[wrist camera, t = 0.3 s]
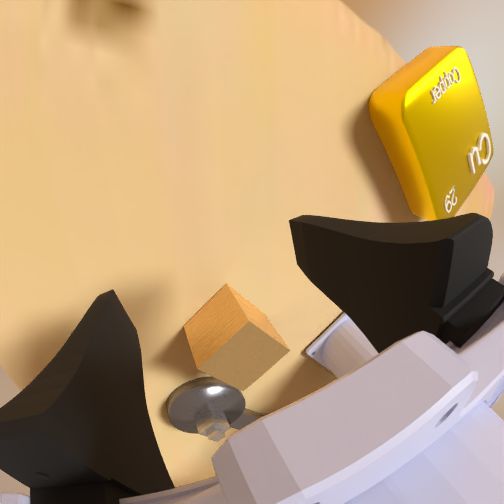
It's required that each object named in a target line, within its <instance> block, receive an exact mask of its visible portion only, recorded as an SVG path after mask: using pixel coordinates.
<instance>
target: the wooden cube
mask: <svg viewBox="0 0 504 504" xmlns="http://www.w3.org/2000/svg"><path fill="white" fill-rule="evenodd" d="M184 329H185V332H186V336H187V339H188V342H189V345H190V349H191V352H192V355H193V358H194V361H195V364H196V367H197V369H198V370H200V371H202V372H204V373H206V374H208V375H210V376H212V377H214V378H216V379H218V380H221V381H223V382H225V383H227V384H229V385H231V386H233V387H236V388H238V389H240V390H242V391H244V390H245V389H246V388H248V387H249V386H250V385H251V384H252V383H254V382H255V381H256V380H257V379H258V378H259V377H261V376H262V375H263V374H264V373H265V372H266V371H268V370H269V369H270V368H271V367H272V366H273V365H274V364H276V363H277V362H278V361H279V360H280V359H281V358H282V357H283V356H284V355H286V354H287V353H288V352H289V351H290V349H289V348H288V346H287V345H286V344H285V342H284V341H283V339H282V338H281V337H280V335H279V334H278V332H277V331H276V330H275V328H274V327H273V325H272V324H271V323H270V321H269V320H268V318H267V317H266V316H265V314H264V313H262V312H261V311H260V310H259V309H257V308H256V307H255V306H254V305H252V304H251V303H250V302H249V301H247V300H246V299H245V298H244V297H242V296H241V295H240V294H239V293H237V292H236V291H235V290H234V289H233V288H231V287H230V286H229V285H228V284H226V285H225V286H224V287H223V288H222V289H221V290H220V291H219V292H218V293H217V294H216V295H215V296H213V297H212V298H211V299H210V300H209V301H208V302H207V303H206V304H205V305H204V306H203V307H202V308H201V309H200V310H199V311H198V312H197V313H196V314H195V315H194V316H193V317H192V318H191V319H190V320H189V321H188V322H187V323H186V324H185V325H184Z"/></svg>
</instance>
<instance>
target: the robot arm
mask: <svg viewBox="0 0 504 504" xmlns="http://www.w3.org/2000/svg"><path fill="white" fill-rule="evenodd" d="M289 223H290V228H291V234H292V239H293V244H294V250H295V255H296V261H297V265H298V266H299V267H300V269H301V270H302V271H303V272H304V274H305V275H306V276H307V277H308V279H309V280H310V281H311V282H312V283H313V284H314V285H315V286H316V287H317V288H319V289H320V290H321V291H322V292H323V293H324V294H325V295H326V296H327V297H328V298H329V299H330V300H332V301H333V302H334V303H335V304H336V305H337V306H338V307H339V308H340V309H341V310H342V311H344V313H343V314H342V315H341V316H340V317H339V318H338V319H337V320H336V321H335V322H334V323H333V324H332V325H331V326H330V327H329V328H328V329H327V330H326V331H325V332H324V333H323V334H322V335H321V336H320V337H319V338H318V339H317V340H315V341H314V342H313V343H312V344H311V345H310V346H309V347H308V348H307V349H306V353H307V355H309V356H310V357H311V358H313V359H314V360H315V361H317V362H318V363H320V364H321V365H322V366H324V367H325V368H327V369H328V370H330V371H331V372H332V373H333V374H334V375H335V376H336V377H337V380H335V381H333V382H331V383H329V384H328V385H326V386H324V387H322V388H320V389H318V390H317V391H315V392H313V393H311V394H309V395H307V396H305V397H303V398H301V399H299V400H297V401H295V402H293V403H291V404H289V405H287V406H285V407H283V408H281V409H279V410H276V411H274V412H272V413H270V414H268V415H265V416H263V417H261V418H259V419H258V420H256V421H254V422H252V423H251V424H249V425H247V426H246V427H244V428H242V429H240V430H238V431H237V432H235V433H233V434H231V435H230V436H229V438H228V439H227V440H226V441H225V442H224V443H223V445H222V446H221V447H220V448H219V449H218V450H217V451H216V453H215V454H214V455H213V457H212V462H213V467H214V471H215V473H216V476H215V477H212V478H209V479H206V480H203V481H199V482H196V483H192V484H189V485H185V486H181V487H178V488H175V487H174V485H173V482H172V480H171V478H170V476H169V474H168V471H167V469H166V466H165V464H164V461H163V458H162V456H161V453H160V450H159V447H158V444H157V441H156V438H155V435H154V432H153V428H152V425H151V421H150V417H149V414H148V410H147V404H146V399H145V390H144V380H143V368H142V357H141V349H140V344H139V339H138V335H137V330H136V328H135V327H134V325H133V323H132V322H131V320H130V318H129V316H128V315H127V313H126V311H125V310H124V308H123V306H122V304H121V303H120V301H119V299H118V297H117V295H116V294H115V292H114V290H110V291H108V292H106V293H103V294H101V295H99V296H98V297H97V298H96V299H95V301H94V302H93V303H92V305H91V306H90V308H89V309H88V311H87V312H86V314H85V315H84V317H83V318H82V320H81V321H80V323H79V324H78V326H77V327H76V329H75V330H74V331H73V333H72V334H71V336H70V337H69V338H68V340H67V341H66V343H65V344H64V346H63V347H62V348H61V350H60V351H59V352H58V353H57V355H56V356H55V357H54V358H53V359H52V361H51V362H50V363H49V364H48V365H47V366H46V367H45V368H44V370H43V371H42V372H41V373H40V374H39V375H38V376H37V377H36V378H35V379H34V380H33V381H32V382H31V383H30V384H29V385H28V386H27V387H26V388H25V389H24V390H22V391H21V392H20V393H19V394H18V395H17V396H16V397H14V398H13V399H12V400H11V401H9V402H8V403H7V404H5V405H4V406H3V407H1V408H0V469H1V470H2V471H4V472H5V473H7V474H9V475H10V476H11V477H13V478H14V479H16V480H18V481H19V482H21V483H22V484H24V485H26V486H28V487H29V488H30V496H28V495H25V494H21V493H5V492H3V493H1V504H504V421H503V420H502V419H501V418H500V417H499V416H498V415H497V414H496V413H495V412H494V411H493V410H492V409H491V408H492V406H493V405H494V404H495V403H496V402H497V400H498V399H499V397H500V396H501V395H502V394H503V392H504V273H503V274H502V276H501V277H500V279H499V282H497V281H496V280H494V279H492V278H493V276H494V272H493V271H491V270H490V269H488V268H487V266H488V261H489V256H490V251H491V246H492V238H493V233H492V232H493V230H492V226H491V222H490V221H489V219H488V218H486V217H484V216H482V215H479V214H477V213H469V214H465V215H460V216H456V217H451V218H446V219H439V220H433V221H424V222H409V223H376V222H364V221H354V220H345V219H338V218H330V217H323V216H313V215H302V216H299V217H297V218H294V219H291V220H289Z"/></svg>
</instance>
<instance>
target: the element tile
mask: <svg viewBox="0 0 504 504" xmlns="http://www.w3.org/2000/svg"><path fill="white" fill-rule="evenodd" d="M368 109H369V114H370V118H371V121H372V123H373V125H374V127H375V129H376V131H377V133H378V135H379V137H380V139H381V141H382V143H383V146H384V148H385V150H386V152H387V154H388V156H389V159H390V161H391V163H392V165H393V168H394V170H395V172H396V175H397V177H398V180H399V182H400V185H401V187H402V190H403V192H404V195H405V197H406V200H407V203H408V205H409V208H410V210H411V212H412V213H413V214H414V215H416V216H418V217H420V218H422V219H425V220H427V221H433V220H439V219H446V218H451V217H454V216H455V214H456V213H457V212H458V210H459V209H460V207H461V206H462V205H463V203H464V202H465V200H466V199H467V197H468V196H469V194H470V193H471V191H472V190H473V188H474V187H475V185H476V184H477V182H478V181H479V179H480V177H481V176H482V174H483V173H484V171H485V169H486V167H487V166H488V164H489V162H490V160H491V158H492V156H493V145H492V139H491V134H490V128H489V124H488V119H487V115H486V111H485V107H484V103H483V100H482V96H481V93H480V90H479V86H478V83H477V79H476V76H475V73H474V70H473V67H472V65H471V62H470V59H469V57H468V55H467V53H466V51H465V50H464V49H463V48H462V47H459V46H440V47H429V48H427V49H426V50H424V51H423V52H422V53H420V54H419V55H418V56H417V57H415V58H414V59H413V60H412V61H410V62H409V63H408V64H407V65H405V66H404V67H403V68H401V69H400V70H399V71H398V72H396V73H395V74H394V75H393V76H391V77H390V78H389V79H388V80H386V81H385V82H384V83H383V84H382V85H380V86H379V87H378V88H377V89H375V91H374V92H373V93H372V95H371V97H370V99H369V106H368Z"/></svg>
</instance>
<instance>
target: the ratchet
mask: <svg viewBox="0 0 504 504" xmlns="http://www.w3.org/2000/svg"><path fill="white" fill-rule="evenodd" d="M167 411H168V415H169V419H170V422H171V423H172V425H173V426H174V427H175V428H177V429H179V430H181V431H183V432H187V433H199V434H200V435H204V436H207V437H208V439H210V440H213V441H217V442H218V441H219V440H220V439H222V438H223V437H225V436H226V435H225V431H227V430H228V429H229V428H230V427H233V428H236V429H242V428H244V427H246V426H247V425H249V424H251V423H252V422H254V421H256V420H258V419H259V418H261V417H263V416H265V415H263V414H260V413H257V412H254V411H252V410H249V409H246V408H245V399H244V397H243V395H242V393H241V391H240V389H238V388H236V387H233V386H231V385H229V384H227V383H225V382H223V381H221V380H218V379H216V378H214V377H202V378H197V379H194V380H191V381H188V382H186V383H184V384H182V385H181V386H179V387H178V388H176V389H175V390H174V391H173V392H172V393H171V394H170V396H169V397H168V400H167Z"/></svg>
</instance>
